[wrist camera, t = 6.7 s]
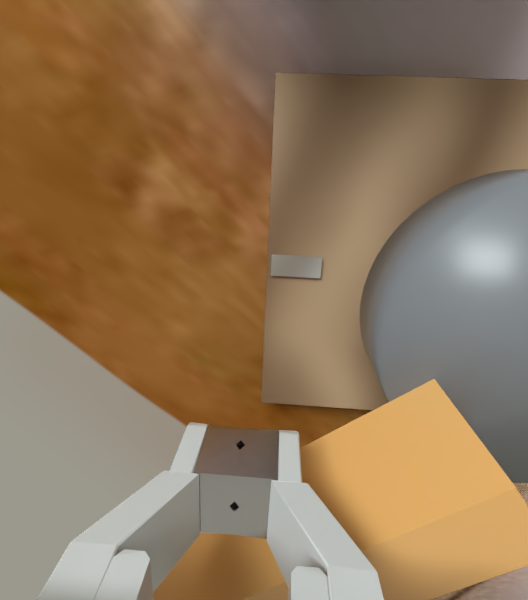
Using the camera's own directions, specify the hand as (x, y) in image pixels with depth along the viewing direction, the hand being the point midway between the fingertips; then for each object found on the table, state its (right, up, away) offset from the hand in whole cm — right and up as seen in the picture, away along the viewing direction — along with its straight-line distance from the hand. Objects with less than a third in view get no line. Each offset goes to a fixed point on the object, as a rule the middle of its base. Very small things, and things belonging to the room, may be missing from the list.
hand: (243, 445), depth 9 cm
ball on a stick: (+5, +1, +4) cm, 6 cm away
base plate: (+9, +6, +9) cm, 13 cm away
